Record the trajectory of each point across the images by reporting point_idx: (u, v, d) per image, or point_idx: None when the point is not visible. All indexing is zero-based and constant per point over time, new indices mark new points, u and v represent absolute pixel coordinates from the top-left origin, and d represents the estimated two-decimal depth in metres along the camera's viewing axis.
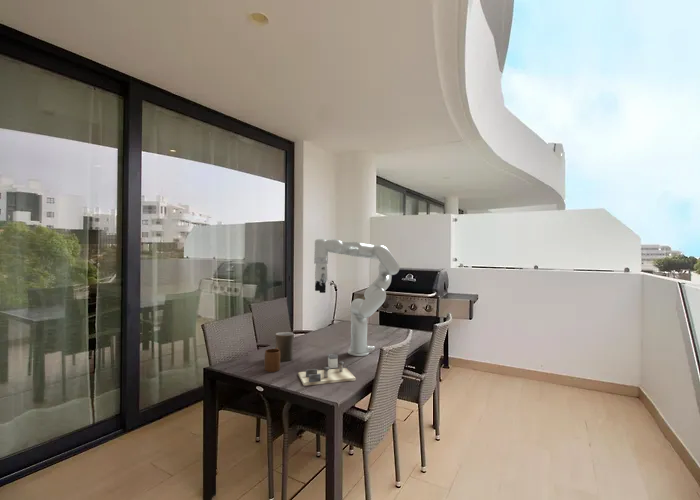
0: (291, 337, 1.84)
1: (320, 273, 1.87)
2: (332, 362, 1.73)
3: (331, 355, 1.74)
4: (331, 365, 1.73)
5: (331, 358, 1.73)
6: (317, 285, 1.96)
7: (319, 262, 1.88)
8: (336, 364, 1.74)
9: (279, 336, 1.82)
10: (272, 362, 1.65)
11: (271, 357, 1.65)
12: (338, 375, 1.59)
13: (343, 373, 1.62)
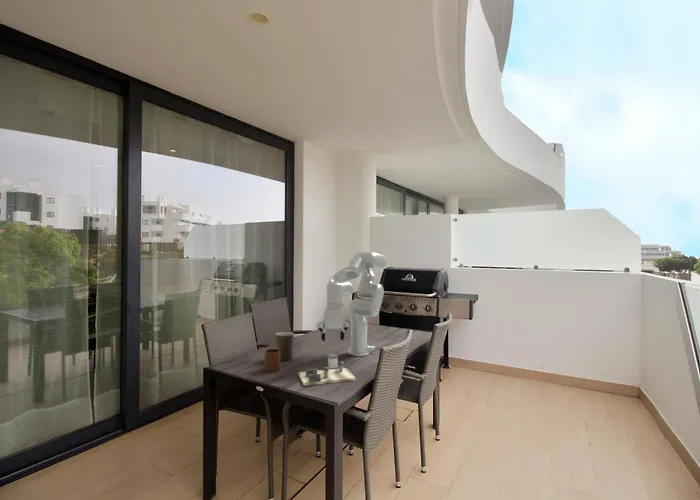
0: (291, 337, 1.84)
1: None
2: (332, 362, 1.73)
3: (331, 355, 1.74)
4: (331, 365, 1.73)
5: (331, 358, 1.73)
6: None
7: None
8: (336, 364, 1.74)
9: (279, 336, 1.82)
10: (272, 362, 1.65)
11: (271, 357, 1.65)
12: (338, 375, 1.59)
13: (343, 373, 1.62)
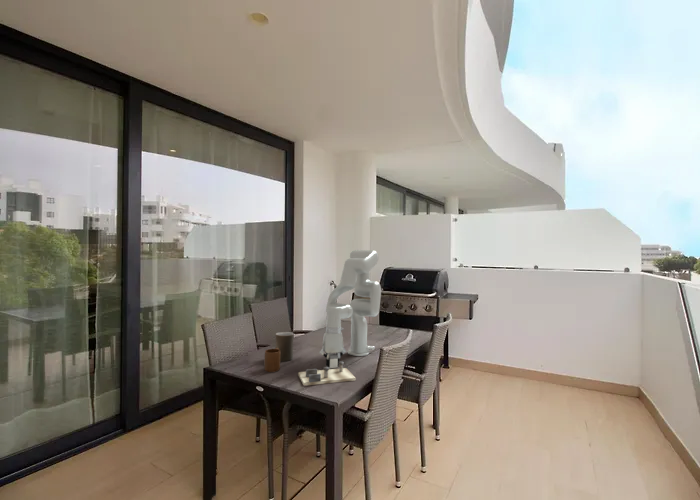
0: (291, 337, 1.84)
1: None
2: (332, 362, 1.73)
3: (331, 355, 1.74)
4: (331, 365, 1.73)
5: (331, 358, 1.73)
6: None
7: (340, 331, 1.75)
8: (336, 364, 1.74)
9: (279, 336, 1.82)
10: (272, 362, 1.65)
11: (271, 357, 1.65)
12: (338, 375, 1.59)
13: (343, 373, 1.62)
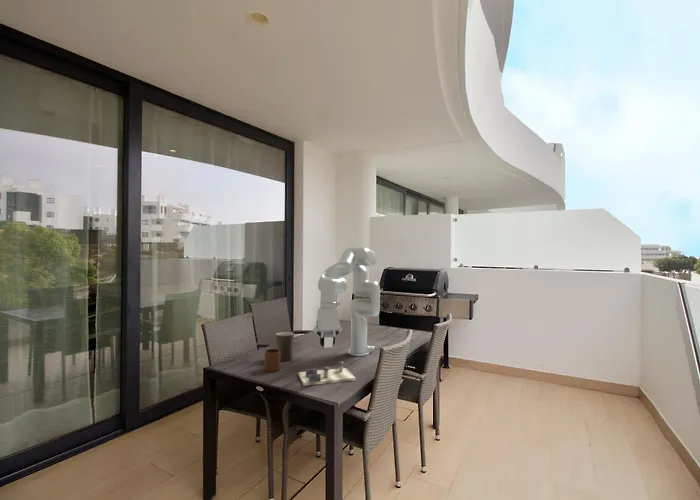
0: (291, 337, 1.84)
1: None
2: (327, 341, 1.55)
3: (326, 333, 1.56)
4: (326, 344, 1.54)
5: (326, 336, 1.54)
6: None
7: (336, 307, 1.56)
8: (331, 343, 1.55)
9: (279, 336, 1.82)
10: (272, 362, 1.65)
11: (271, 357, 1.65)
12: (338, 375, 1.59)
13: (343, 373, 1.62)
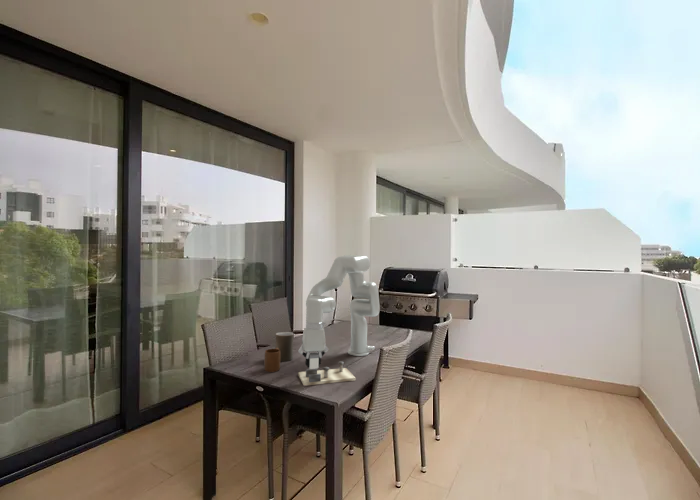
0: (291, 337, 1.84)
1: None
2: (312, 362, 1.52)
3: (311, 354, 1.54)
4: (311, 365, 1.52)
5: (311, 357, 1.52)
6: None
7: (322, 327, 1.54)
8: (317, 364, 1.53)
9: (279, 336, 1.82)
10: (272, 362, 1.65)
11: (271, 357, 1.65)
12: (338, 375, 1.59)
13: (343, 373, 1.62)
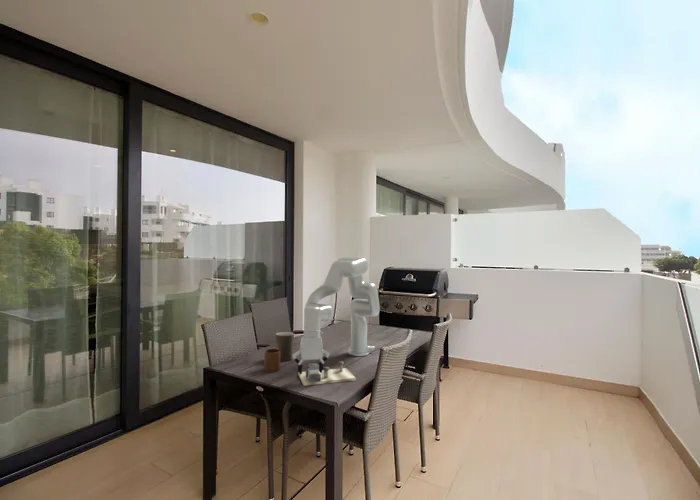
0: (291, 337, 1.84)
1: (322, 348, 1.54)
2: (312, 373, 1.52)
3: (311, 365, 1.54)
4: None
5: (311, 369, 1.52)
6: (301, 366, 1.52)
7: (319, 335, 1.54)
8: None
9: (279, 336, 1.82)
10: (272, 362, 1.65)
11: (271, 357, 1.65)
12: (338, 375, 1.59)
13: (343, 373, 1.62)
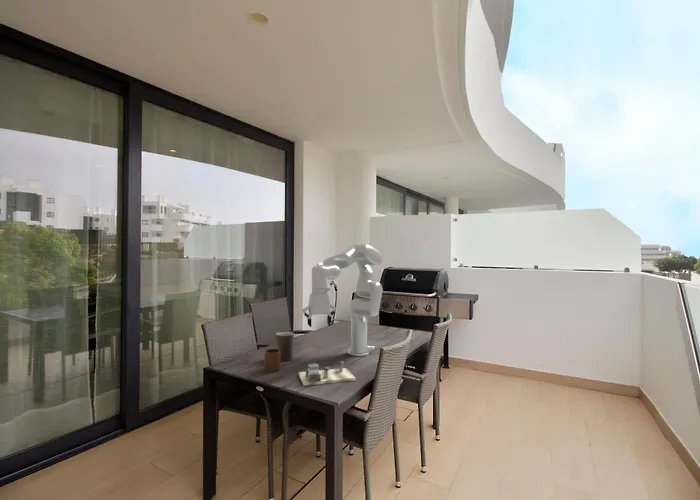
0: (291, 337, 1.84)
1: (329, 304, 1.70)
2: (312, 373, 1.52)
3: (311, 365, 1.54)
4: None
5: (311, 369, 1.52)
6: None
7: (326, 292, 1.69)
8: None
9: (279, 336, 1.82)
10: (272, 362, 1.65)
11: (271, 357, 1.65)
12: (338, 375, 1.59)
13: (343, 373, 1.62)
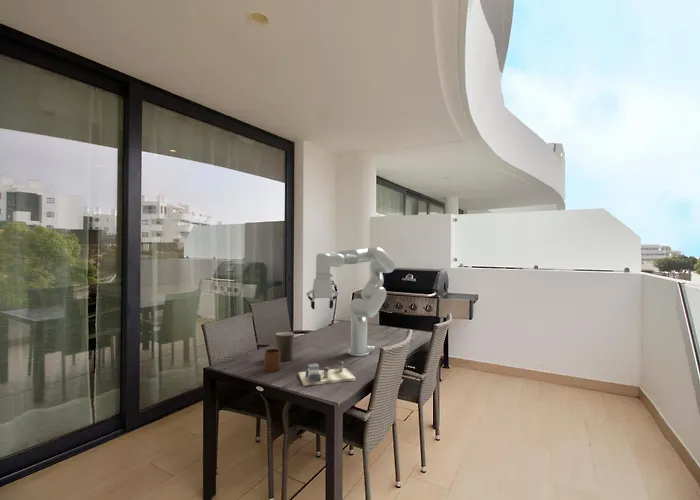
0: (291, 337, 1.84)
1: None
2: (312, 373, 1.52)
3: (311, 365, 1.54)
4: None
5: (311, 369, 1.52)
6: None
7: (329, 277, 1.82)
8: None
9: (279, 336, 1.82)
10: (272, 362, 1.65)
11: (271, 357, 1.65)
12: (338, 375, 1.59)
13: (343, 373, 1.62)
